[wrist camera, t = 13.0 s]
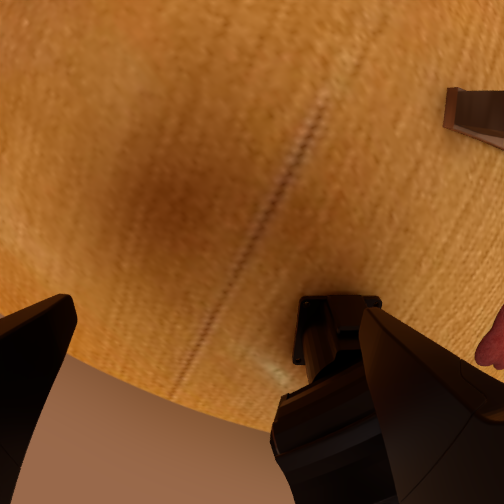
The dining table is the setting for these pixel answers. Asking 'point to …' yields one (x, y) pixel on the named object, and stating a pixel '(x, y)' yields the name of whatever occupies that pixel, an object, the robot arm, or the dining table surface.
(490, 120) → the scraper
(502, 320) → the red spill
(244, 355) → the dining table surface
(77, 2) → the dining table surface
